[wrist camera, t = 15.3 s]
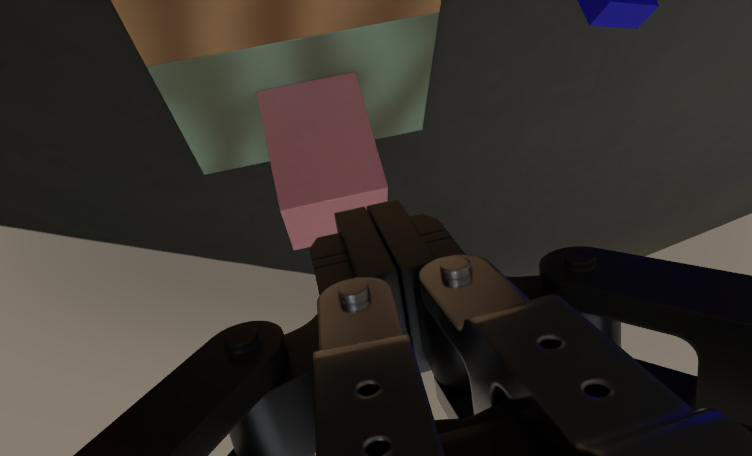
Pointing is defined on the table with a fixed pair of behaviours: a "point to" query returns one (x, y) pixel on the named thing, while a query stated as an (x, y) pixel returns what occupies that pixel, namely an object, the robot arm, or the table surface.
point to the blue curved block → (617, 12)
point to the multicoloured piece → (279, 62)
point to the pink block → (320, 154)
